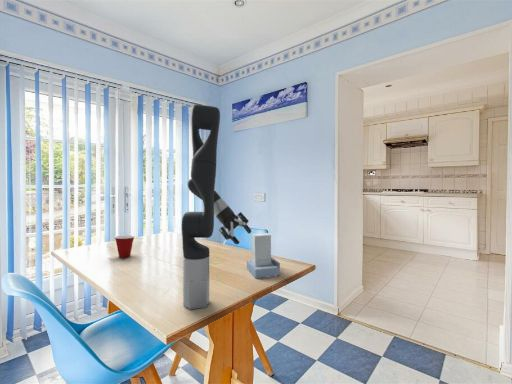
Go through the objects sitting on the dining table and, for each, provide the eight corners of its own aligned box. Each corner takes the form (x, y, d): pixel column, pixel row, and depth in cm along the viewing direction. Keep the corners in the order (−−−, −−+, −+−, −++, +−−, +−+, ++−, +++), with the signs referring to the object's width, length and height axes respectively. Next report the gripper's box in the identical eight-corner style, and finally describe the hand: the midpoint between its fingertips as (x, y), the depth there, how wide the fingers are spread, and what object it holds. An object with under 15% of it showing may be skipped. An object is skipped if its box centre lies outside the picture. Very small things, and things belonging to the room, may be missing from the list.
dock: (279, 275, 125) (279, 263, 125) (255, 278, 121) (255, 265, 121) (269, 266, 138) (269, 255, 138) (246, 268, 134) (246, 257, 134)
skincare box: (267, 261, 133) (267, 232, 133) (271, 265, 128) (271, 234, 127) (251, 262, 131) (251, 233, 130) (254, 266, 125) (254, 235, 125)
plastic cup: (138, 254, 159) (138, 234, 158) (128, 259, 148) (128, 238, 148) (121, 253, 160) (121, 233, 160) (110, 258, 149) (109, 237, 149)
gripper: (213, 215, 114) (237, 244, 113) (235, 199, 123) (257, 226, 122) (207, 222, 119) (230, 249, 118) (228, 206, 129) (250, 232, 128)
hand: (244, 238), depth 120 cm, fingers open, 8 cm apart
